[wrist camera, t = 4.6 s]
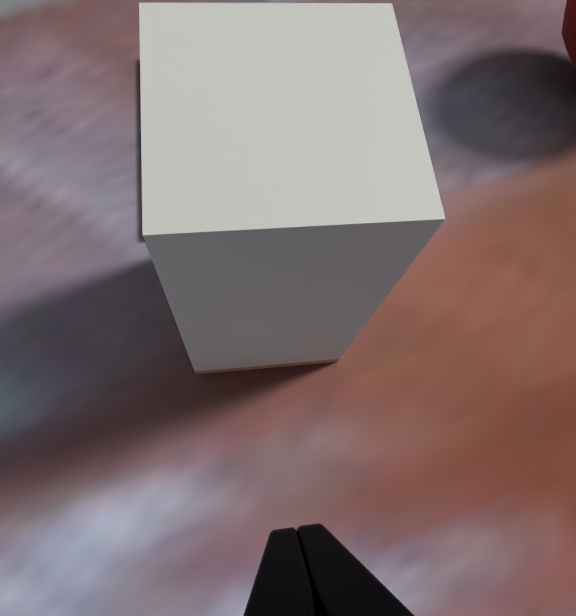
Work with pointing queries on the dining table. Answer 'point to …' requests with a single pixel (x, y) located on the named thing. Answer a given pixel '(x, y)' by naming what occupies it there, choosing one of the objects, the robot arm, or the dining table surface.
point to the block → (279, 175)
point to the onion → (570, 30)
